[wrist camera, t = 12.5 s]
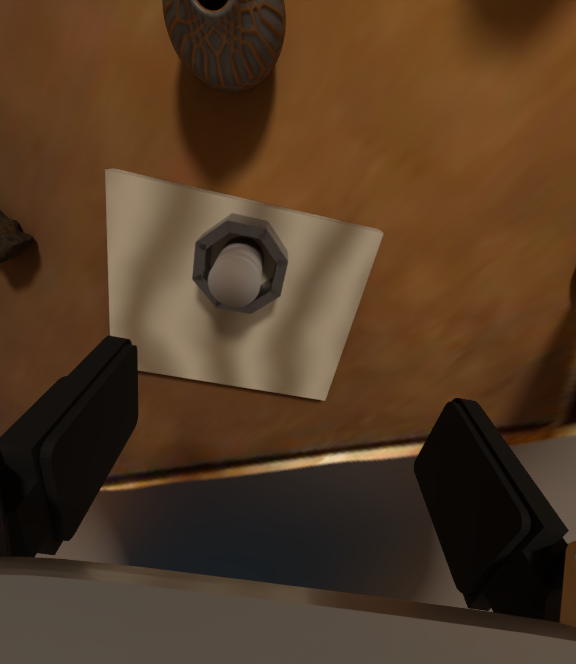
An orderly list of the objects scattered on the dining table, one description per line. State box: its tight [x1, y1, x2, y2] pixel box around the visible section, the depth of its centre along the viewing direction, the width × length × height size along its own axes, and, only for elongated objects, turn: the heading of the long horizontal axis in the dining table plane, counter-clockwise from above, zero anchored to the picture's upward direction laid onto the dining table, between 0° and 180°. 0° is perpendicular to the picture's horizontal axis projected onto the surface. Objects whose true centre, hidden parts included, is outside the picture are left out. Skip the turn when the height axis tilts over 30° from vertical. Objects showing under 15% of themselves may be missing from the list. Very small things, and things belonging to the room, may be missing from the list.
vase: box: [162, 0, 286, 93], centre depth 19 cm, size 7×7×9 cm
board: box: [105, 169, 384, 401], centre depth 29 cm, size 22×18×8 cm
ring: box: [192, 213, 288, 314], centre depth 28 cm, size 7×7×3 cm
